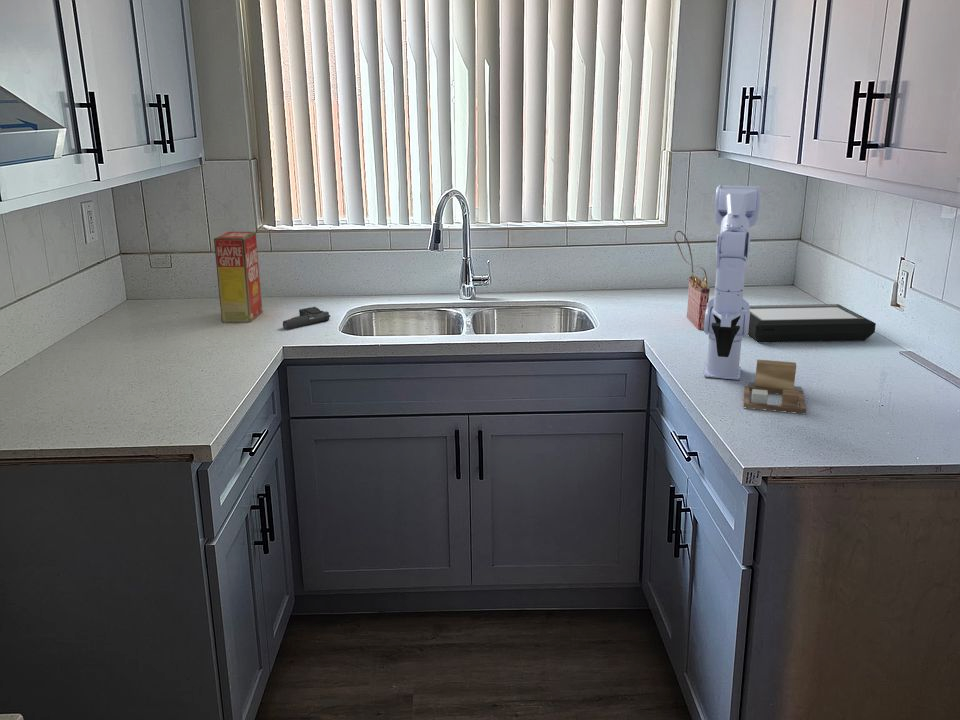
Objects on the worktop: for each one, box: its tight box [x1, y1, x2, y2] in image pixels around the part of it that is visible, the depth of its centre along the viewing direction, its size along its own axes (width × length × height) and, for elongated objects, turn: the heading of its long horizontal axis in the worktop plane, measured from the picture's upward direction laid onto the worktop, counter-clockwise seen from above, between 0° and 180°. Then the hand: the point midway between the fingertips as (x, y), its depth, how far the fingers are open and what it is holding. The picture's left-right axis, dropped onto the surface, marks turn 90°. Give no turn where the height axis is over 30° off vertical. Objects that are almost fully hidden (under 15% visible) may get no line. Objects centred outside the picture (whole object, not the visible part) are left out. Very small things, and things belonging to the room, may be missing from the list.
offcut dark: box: [780, 389, 799, 407], centre depth 167 cm, size 3×3×4 cm
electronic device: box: [747, 303, 877, 343], centre depth 221 cm, size 32×6×20 cm
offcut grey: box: [750, 389, 769, 404], centre depth 169 cm, size 3×3×3 cm
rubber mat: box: [748, 381, 803, 391], centre depth 178 cm, size 5×11×1 cm, turn 72°
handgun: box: [282, 306, 331, 331], centre depth 238 cm, size 3×16×12 cm
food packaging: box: [213, 231, 264, 323], centre depth 240 cm, size 13×9×25 cm
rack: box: [743, 385, 807, 414], centre depth 171 cm, size 12×12×1 cm
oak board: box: [754, 359, 797, 390], centre depth 177 cm, size 2×8×6 cm, turn 72°
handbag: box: [673, 230, 711, 331], centre depth 231 cm, size 7×21×25 cm, turn 179°
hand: (723, 351), depth 172 cm, fingers open, 7 cm apart
